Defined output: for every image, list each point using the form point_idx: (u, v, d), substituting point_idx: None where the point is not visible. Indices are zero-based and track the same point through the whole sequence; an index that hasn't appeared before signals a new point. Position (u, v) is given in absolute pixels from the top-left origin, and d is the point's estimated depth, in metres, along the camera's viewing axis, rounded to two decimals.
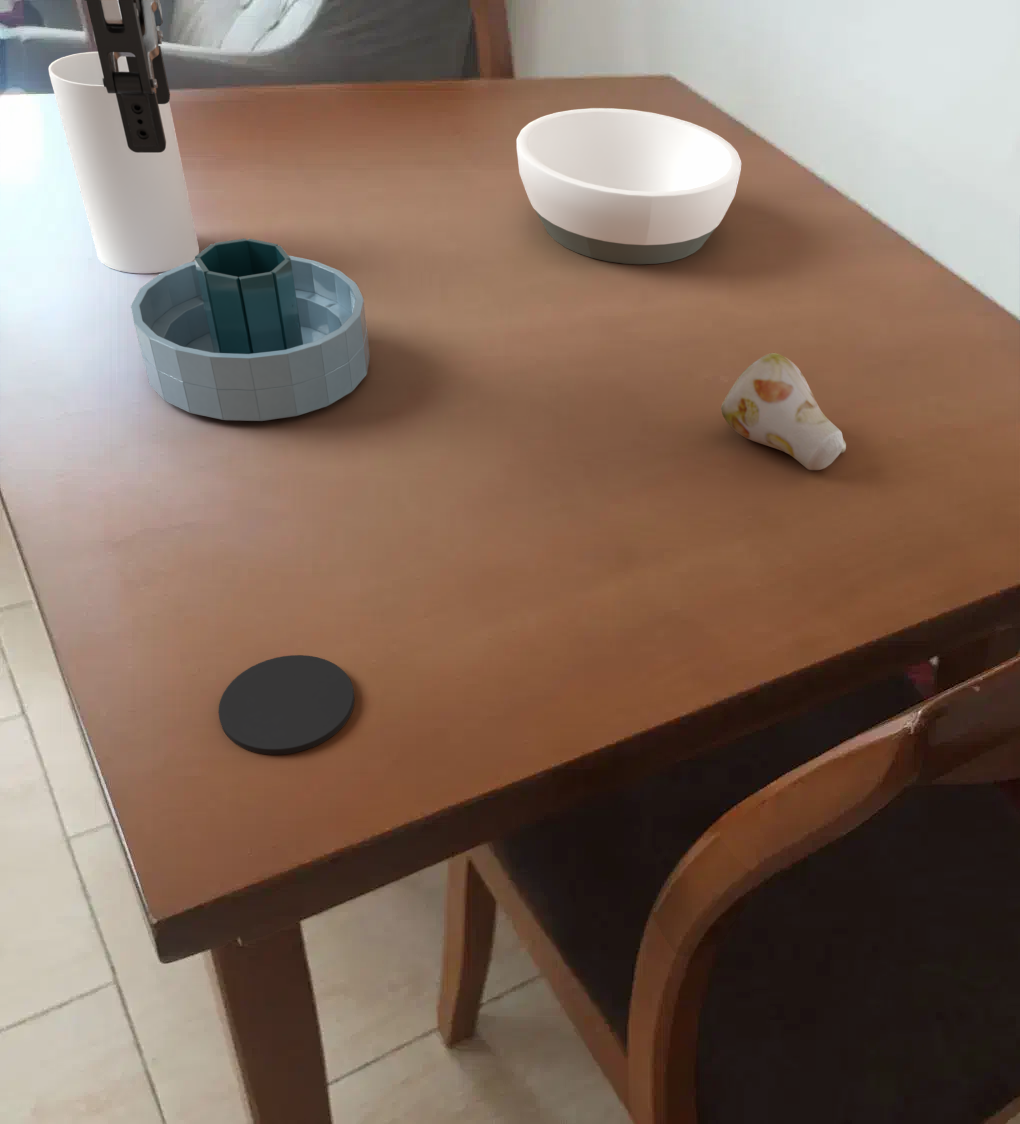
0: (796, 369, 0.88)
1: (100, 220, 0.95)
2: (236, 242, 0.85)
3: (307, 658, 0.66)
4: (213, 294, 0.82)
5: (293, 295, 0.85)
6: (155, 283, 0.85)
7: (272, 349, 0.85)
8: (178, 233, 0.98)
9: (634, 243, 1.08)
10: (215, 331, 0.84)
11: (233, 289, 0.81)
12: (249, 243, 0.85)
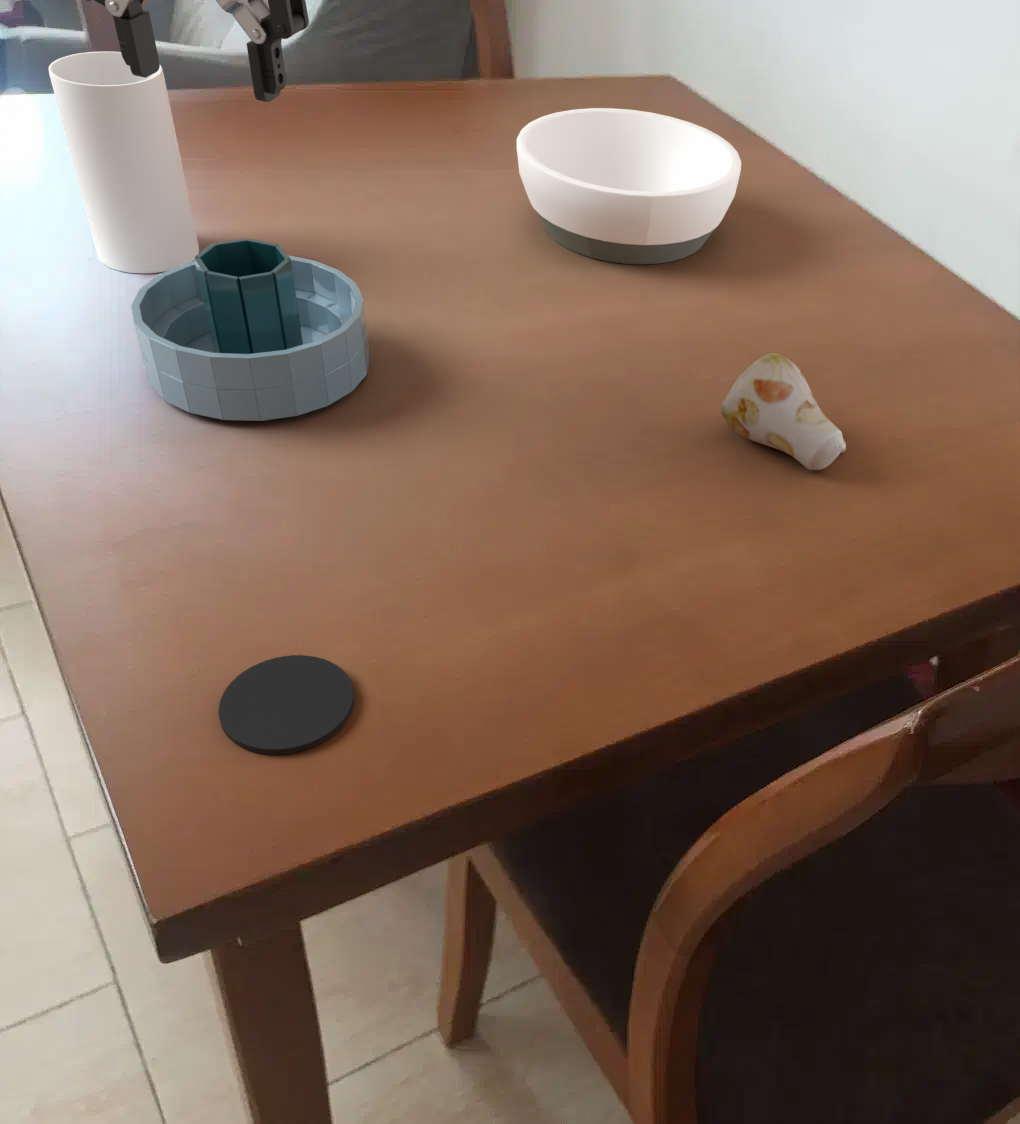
0: (796, 369, 0.88)
1: (100, 220, 0.95)
2: (236, 242, 0.85)
3: (307, 658, 0.66)
4: (213, 294, 0.82)
5: (293, 295, 0.85)
6: (155, 283, 0.85)
7: (272, 349, 0.85)
8: (178, 233, 0.98)
9: (634, 243, 1.08)
10: (215, 331, 0.84)
11: (233, 289, 0.81)
12: (249, 243, 0.85)
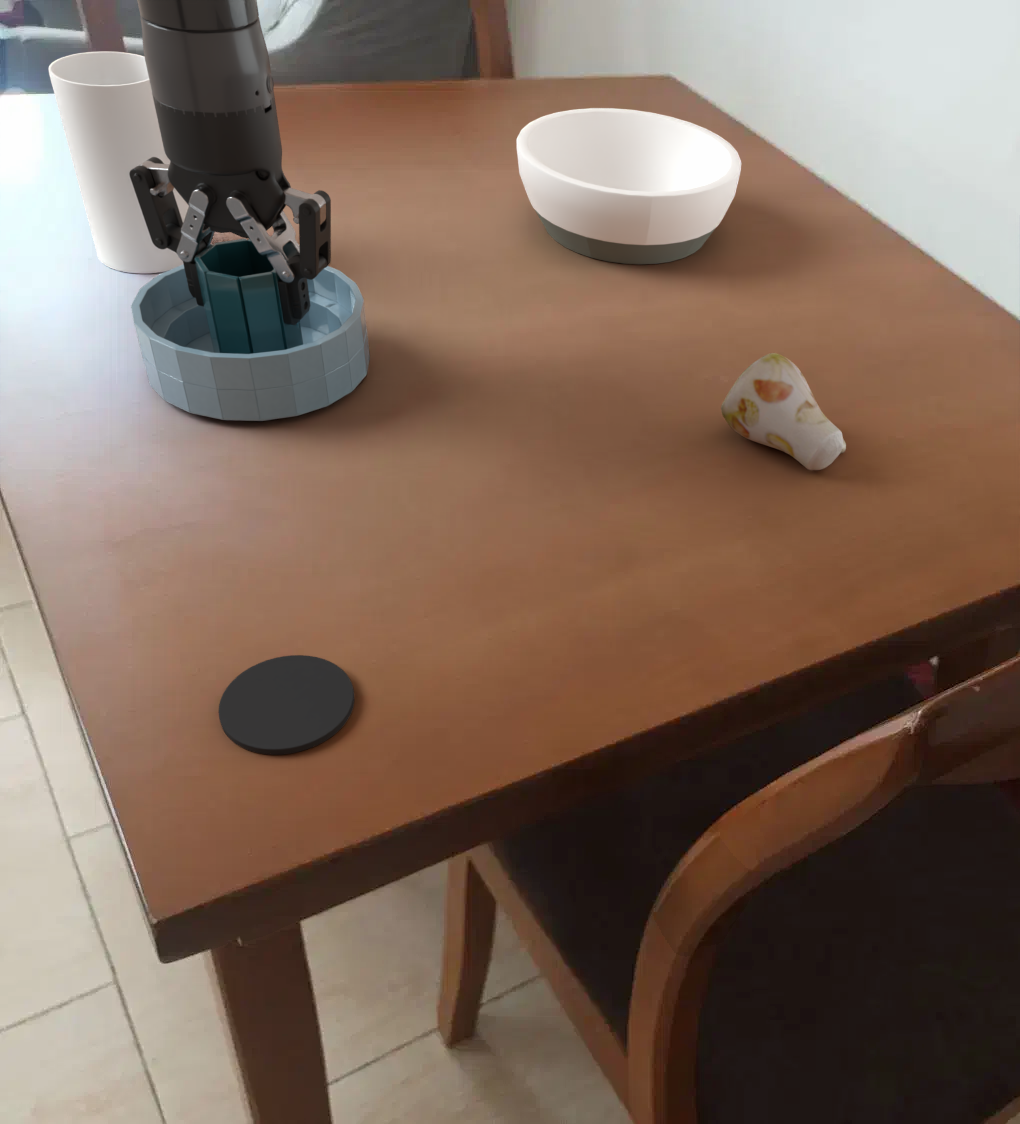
0: (796, 369, 0.88)
1: (100, 220, 0.95)
2: (236, 242, 0.85)
3: (307, 658, 0.66)
4: (213, 294, 0.82)
5: None
6: (155, 283, 0.85)
7: (272, 349, 0.85)
8: None
9: (634, 243, 1.08)
10: (215, 331, 0.84)
11: (233, 289, 0.81)
12: (249, 243, 0.85)
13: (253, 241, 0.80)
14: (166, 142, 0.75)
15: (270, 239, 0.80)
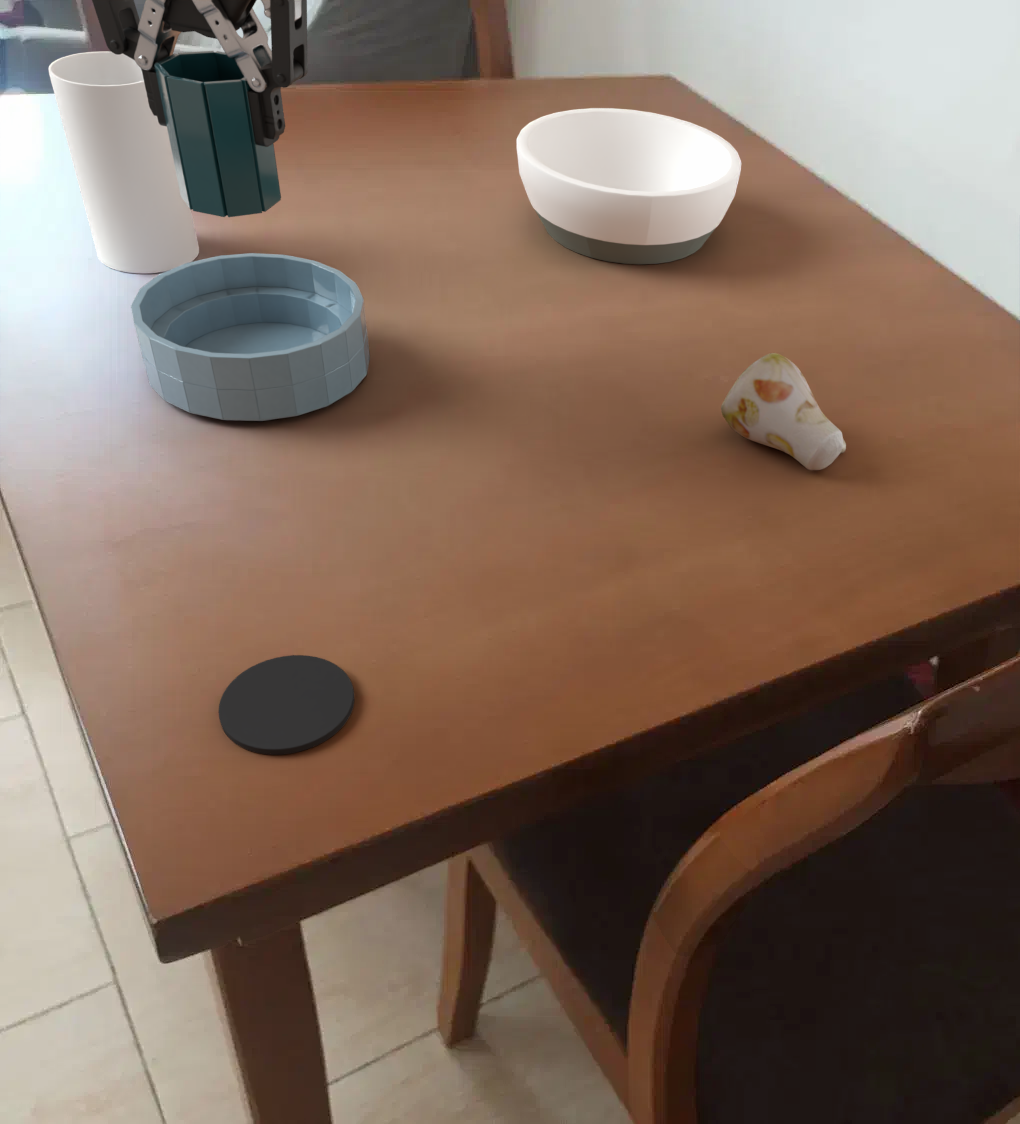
0: (796, 369, 0.88)
1: (100, 220, 0.95)
2: (202, 54, 0.76)
3: (307, 658, 0.66)
4: (175, 104, 0.73)
5: None
6: (155, 283, 0.85)
7: (242, 174, 0.76)
8: (178, 233, 0.98)
9: (634, 243, 1.08)
10: (178, 151, 0.75)
11: (197, 97, 0.72)
12: (217, 56, 0.76)
13: (219, 39, 0.71)
14: None
15: (238, 37, 0.71)
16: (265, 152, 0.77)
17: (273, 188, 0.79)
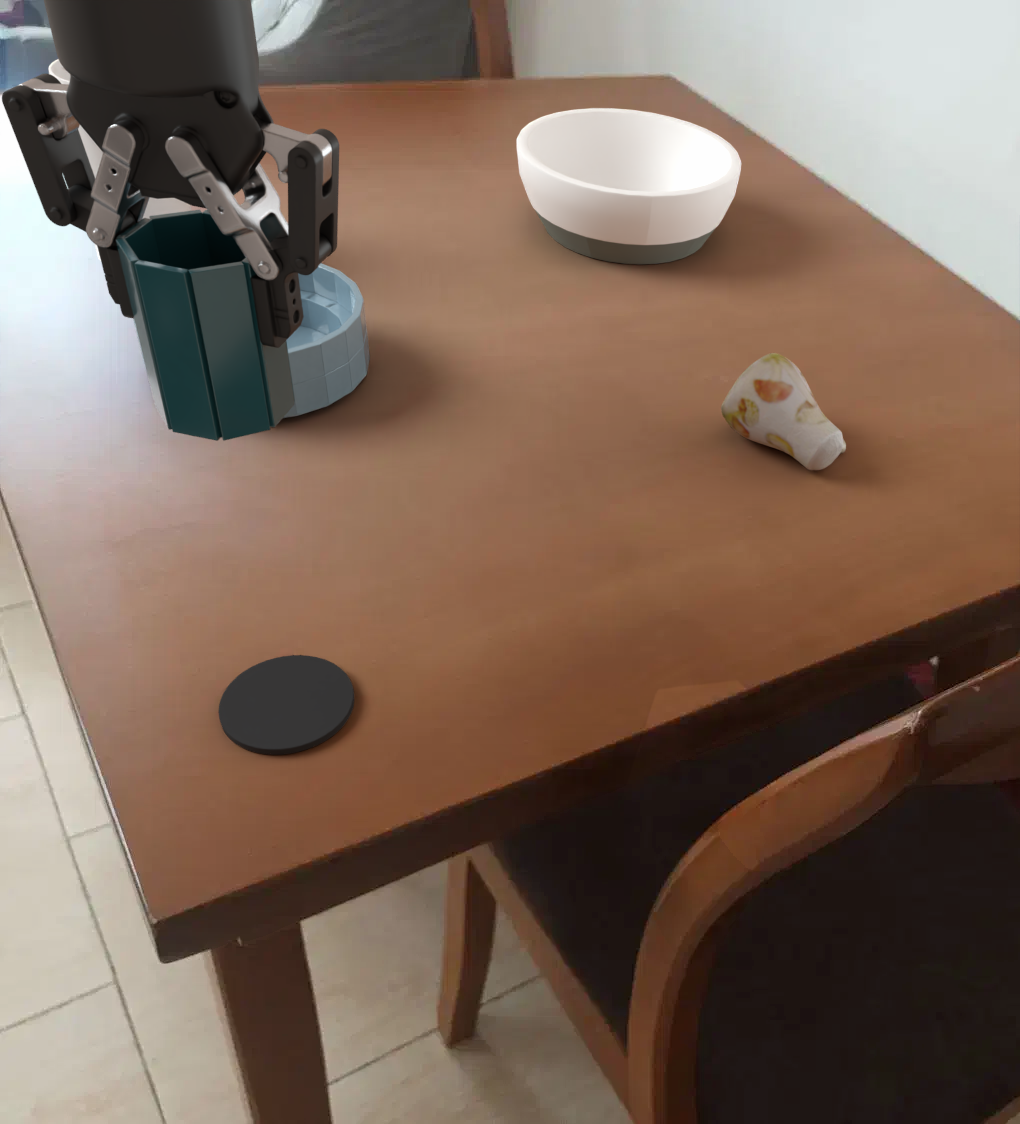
0: (796, 369, 0.88)
1: None
2: (185, 215, 0.53)
3: (307, 658, 0.66)
4: (147, 298, 0.50)
5: None
6: None
7: (244, 384, 0.54)
8: None
9: (634, 243, 1.08)
10: (152, 357, 0.53)
11: (180, 290, 0.50)
12: (206, 217, 0.54)
13: (211, 212, 0.49)
14: (58, 38, 0.43)
15: (240, 209, 0.49)
16: (275, 350, 0.55)
17: (285, 393, 0.57)
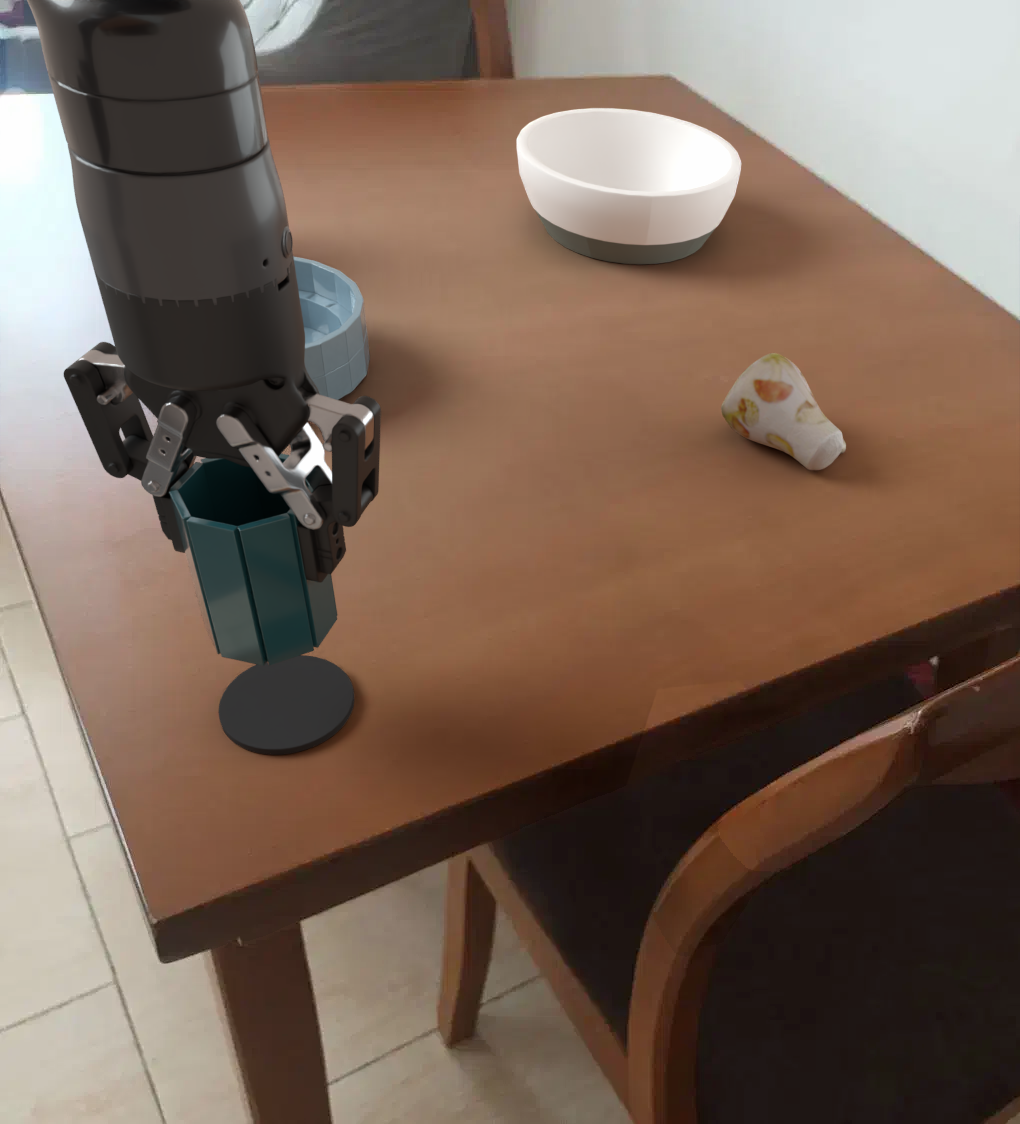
0: (796, 369, 0.88)
1: None
2: None
3: (307, 658, 0.66)
4: (198, 549, 0.53)
5: None
6: None
7: (289, 616, 0.56)
8: None
9: (634, 243, 1.08)
10: (202, 595, 0.55)
11: (229, 544, 0.52)
12: None
13: (259, 475, 0.51)
14: (116, 340, 0.46)
15: (286, 471, 0.51)
16: None
17: (328, 613, 0.59)
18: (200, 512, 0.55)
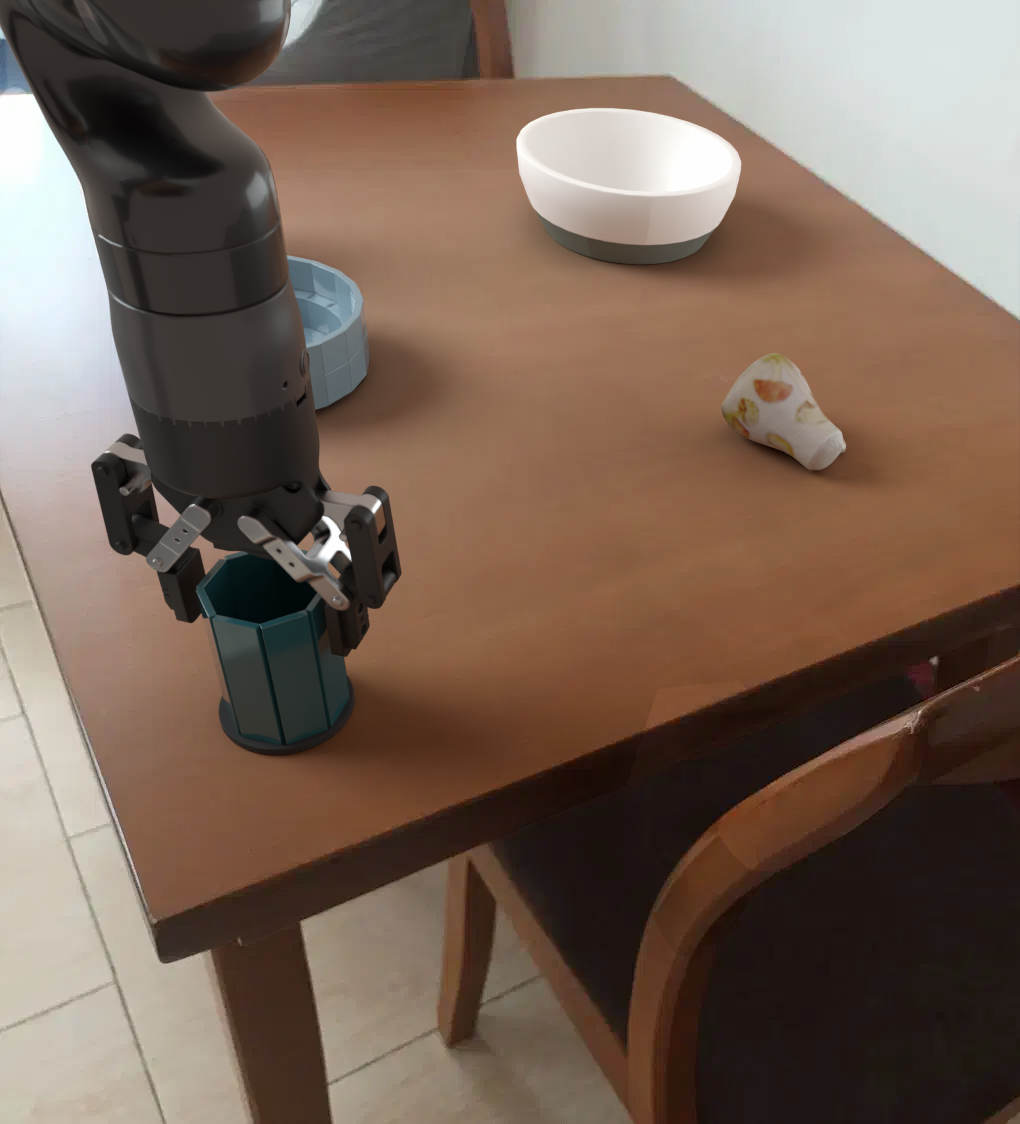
0: (796, 369, 0.88)
1: None
2: None
3: None
4: (222, 643, 0.57)
5: None
6: None
7: (305, 701, 0.60)
8: None
9: (634, 243, 1.08)
10: (225, 682, 0.59)
11: (251, 640, 0.56)
12: None
13: (285, 567, 0.55)
14: (147, 453, 0.49)
15: (308, 560, 0.55)
16: (333, 665, 0.61)
17: (341, 694, 0.63)
18: (223, 604, 0.60)
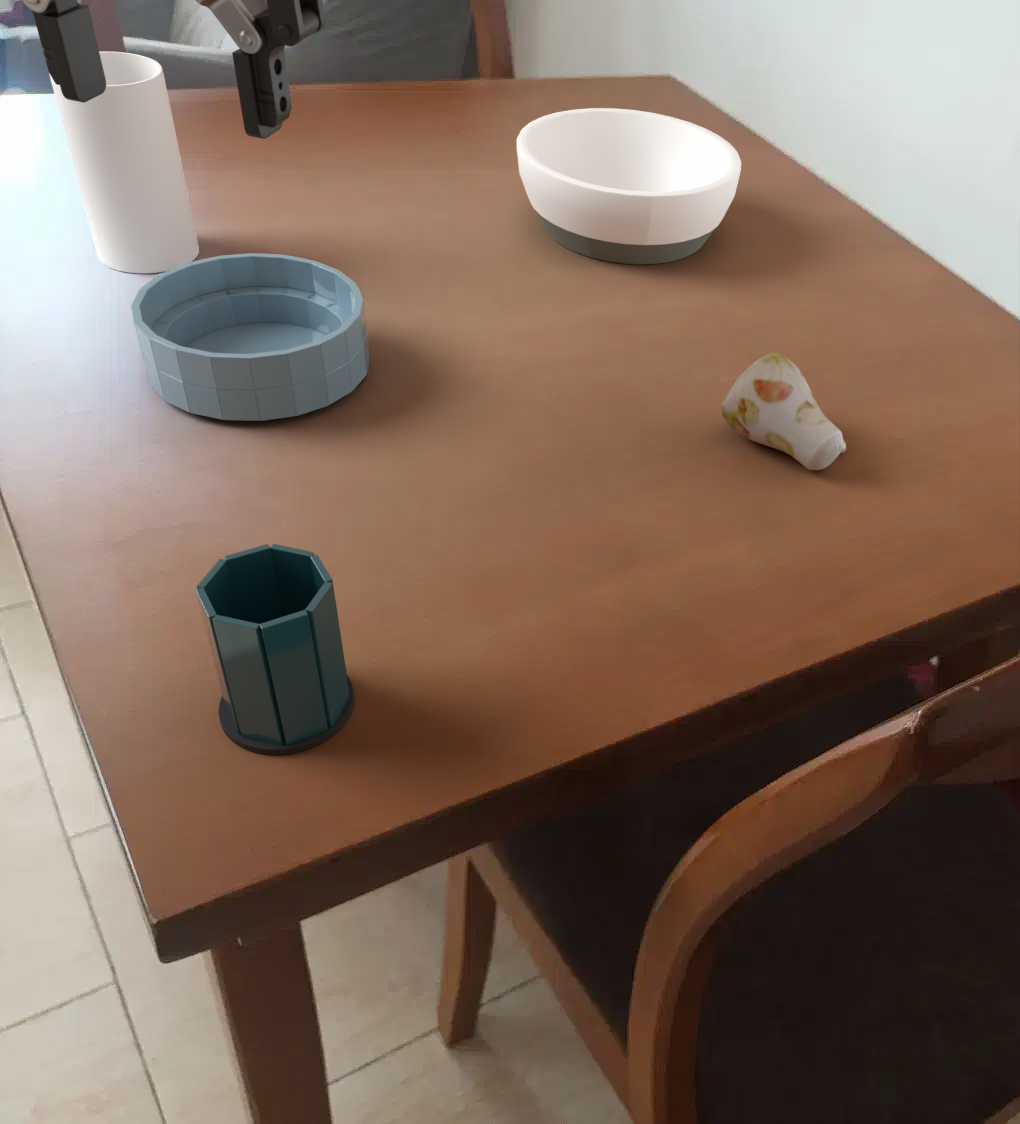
0: (796, 369, 0.88)
1: (100, 220, 0.95)
2: (255, 552, 0.60)
3: None
4: (222, 643, 0.57)
5: (335, 624, 0.60)
6: (155, 283, 0.85)
7: (305, 701, 0.60)
8: (178, 233, 0.98)
9: (634, 243, 1.08)
10: (225, 682, 0.59)
11: (251, 640, 0.56)
12: (273, 551, 0.60)
13: None
14: None
15: None
16: (333, 665, 0.61)
17: (341, 694, 0.63)
18: (223, 604, 0.60)
